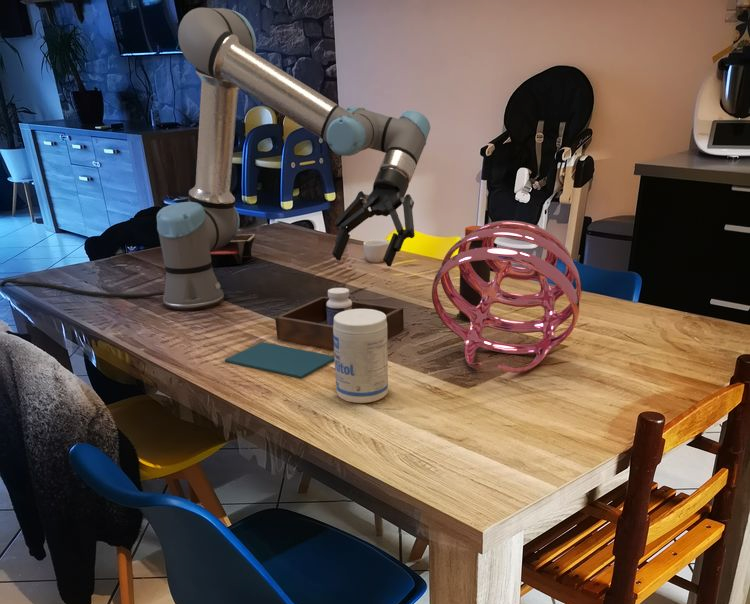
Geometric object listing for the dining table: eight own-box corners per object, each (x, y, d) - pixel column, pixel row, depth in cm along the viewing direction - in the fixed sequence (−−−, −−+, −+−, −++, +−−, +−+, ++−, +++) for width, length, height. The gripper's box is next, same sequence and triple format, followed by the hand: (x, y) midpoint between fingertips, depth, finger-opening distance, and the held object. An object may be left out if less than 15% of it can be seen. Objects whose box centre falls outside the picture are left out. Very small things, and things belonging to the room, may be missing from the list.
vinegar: (453, 318, 174) (454, 228, 164) (470, 311, 178) (473, 223, 168) (476, 323, 170) (479, 232, 160) (494, 316, 174) (498, 226, 164)
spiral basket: (532, 297, 119) (567, 173, 129) (387, 317, 135) (428, 205, 145) (584, 397, 139) (611, 283, 149) (453, 403, 155) (485, 300, 165)
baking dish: (212, 262, 238) (202, 230, 233) (265, 253, 235) (256, 220, 229) (198, 277, 227) (187, 244, 221) (253, 268, 223) (243, 234, 218)
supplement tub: (326, 396, 137) (320, 318, 130) (360, 380, 143) (356, 304, 136) (365, 409, 132) (362, 328, 124) (399, 392, 138) (397, 313, 130)
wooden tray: (277, 339, 166) (274, 317, 163) (324, 316, 179) (323, 296, 176) (359, 355, 155) (358, 331, 153) (403, 330, 168) (403, 308, 166)
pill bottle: (350, 339, 164) (348, 294, 159) (325, 338, 165) (322, 293, 160) (356, 330, 169) (354, 286, 164) (331, 330, 170) (328, 286, 165)
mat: (224, 361, 155) (224, 359, 155) (262, 344, 164) (261, 341, 163) (301, 378, 145) (301, 376, 145) (336, 358, 154) (336, 356, 154)
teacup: (395, 260, 223) (394, 242, 220) (374, 265, 219) (374, 246, 217) (374, 255, 230) (374, 237, 227) (354, 259, 226) (353, 241, 223)
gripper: (448, 191, 167) (415, 275, 164) (355, 185, 179) (323, 263, 176) (437, 168, 160) (402, 255, 157) (341, 164, 172) (308, 245, 169)
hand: (360, 260), depth 167 cm, fingers open, 13 cm apart
